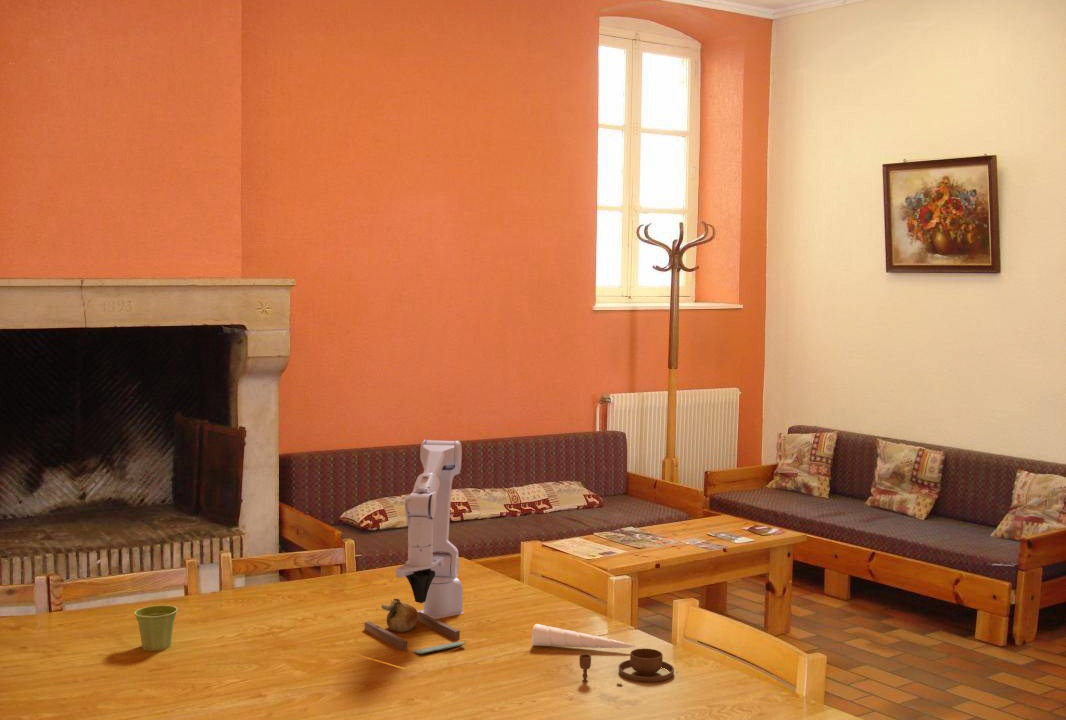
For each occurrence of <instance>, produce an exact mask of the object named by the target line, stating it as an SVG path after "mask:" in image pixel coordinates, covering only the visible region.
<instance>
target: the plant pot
mask: <svg viewBox="0 0 1066 720" xmlns="http://www.w3.org/2000/svg"><path fill="white" fill-rule="evenodd" d="M178 610H179V609H178V607H177V606H174V605H168V604H167V605H166V604H162V605H161V604H160V605H159V604H158V605H150V606H145V607H142V608H141V607H140V608H138V609H136V610H135V611H134V613H133V615H134V616H135V617H136V621H137V624H138V628H139V633H140V634H139V635H140V640H141V646H142V650H144V651H147V650H148V652H154V651H158V652H159V651H163V649H164V650H167V649H169V648H170V647H171V646H172V642H173V641H172V640H173V633H174V626H175V625H174V623H175V619H176V616H177V612H178Z"/></svg>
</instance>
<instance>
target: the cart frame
mask: <svg viewBox="0 0 1066 720" xmlns="http://www.w3.org/2000/svg"><path fill="white" fill-rule="evenodd" d="M417 622H419V623H421V624H423V625H425V626H426V627H429V628H431V629H433V630H435V631H437V632H439V633H441V634H442V635H444V636H446V637H449V638H451V639H453V640H455V641H456V640H460V639H461V636H460V635H461V633H460V632H461V631H460V630H458V629H456V628H455V627H452V626H450V625H448V624H446V623H445V622H442V621H440V620H438V619H434V618H432V617H430V616H428V615H426V614H423V613H421V612H418V620H417ZM364 631H366V632H368V633H370V634H372V635H374V636H375V637H377V638H378V639H380V640H382V641H384V642H385V643H388V644H390V645H391V646H392V647H394V648H396V649H398V650H400V651H402V652H405V651H408V641H407V640H406V639H403V638H401V637H399V636H398V635H396V634H394V633H392V632H390V631H388V630H387V629H385V628H383V627H381V626H379V625H377V624H376V623H374V622H371V621H369V620H368V621H364Z"/></svg>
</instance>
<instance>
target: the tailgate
mask: <svg viewBox="0 0 1066 720" xmlns="http://www.w3.org/2000/svg"><path fill="white" fill-rule="evenodd" d="M466 645H467V642H462V641H461V642H460V641H454V642H450V643H444V644H440V645H435V646H430V647H426V648H420V649H416V650H415V649H414V650H411V652H412V653H414V654H418V655H419V654H420V655H422V654H427V653H431V652H435V651H436V652H437V651H440V650H447V649H450V648H455V647H461V646H466Z"/></svg>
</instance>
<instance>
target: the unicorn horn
mask: <svg viewBox="0 0 1066 720" xmlns="http://www.w3.org/2000/svg"><path fill="white" fill-rule="evenodd" d="M531 644H532V645H533V646H538V647H539V646H541V647H561V648H562V647H563V648H565V647H566V648H567V647H569V648H589V649H591V648H592V649H596V648H598V649H599V648H600V649H629V648H635V647H636V646H635V644H634V645H633V644H631V643H629V642H628V643H627V642H623V641H619V640H615V639H611V638H607V637H602V636H597V635H592V634H587V633H584V632H577V631H574V630H568V629H562V628H560V627H554V626H549V625H548V626H547V625H544V624H539V623H535V624H534V625H533V627H532V631H531Z"/></svg>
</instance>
